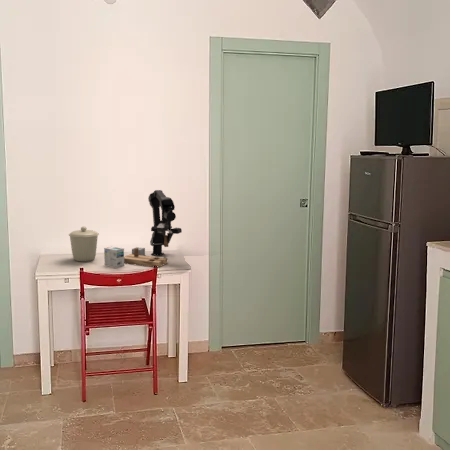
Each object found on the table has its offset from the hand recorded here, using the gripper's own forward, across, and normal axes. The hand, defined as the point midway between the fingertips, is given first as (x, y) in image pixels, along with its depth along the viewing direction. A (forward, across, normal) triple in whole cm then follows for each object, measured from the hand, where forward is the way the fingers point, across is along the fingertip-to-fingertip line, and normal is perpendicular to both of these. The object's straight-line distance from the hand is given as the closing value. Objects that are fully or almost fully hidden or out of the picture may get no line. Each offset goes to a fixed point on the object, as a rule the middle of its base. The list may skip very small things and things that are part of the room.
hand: (166, 243), depth 368 cm
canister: (+12, -47, -20) cm, 52 cm away
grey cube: (+12, -20, 0) cm, 23 cm away
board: (+12, -10, -10) cm, 18 cm away
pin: (+2, 0, 0) cm, 2 cm away
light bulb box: (+12, -23, -23) cm, 35 cm away
